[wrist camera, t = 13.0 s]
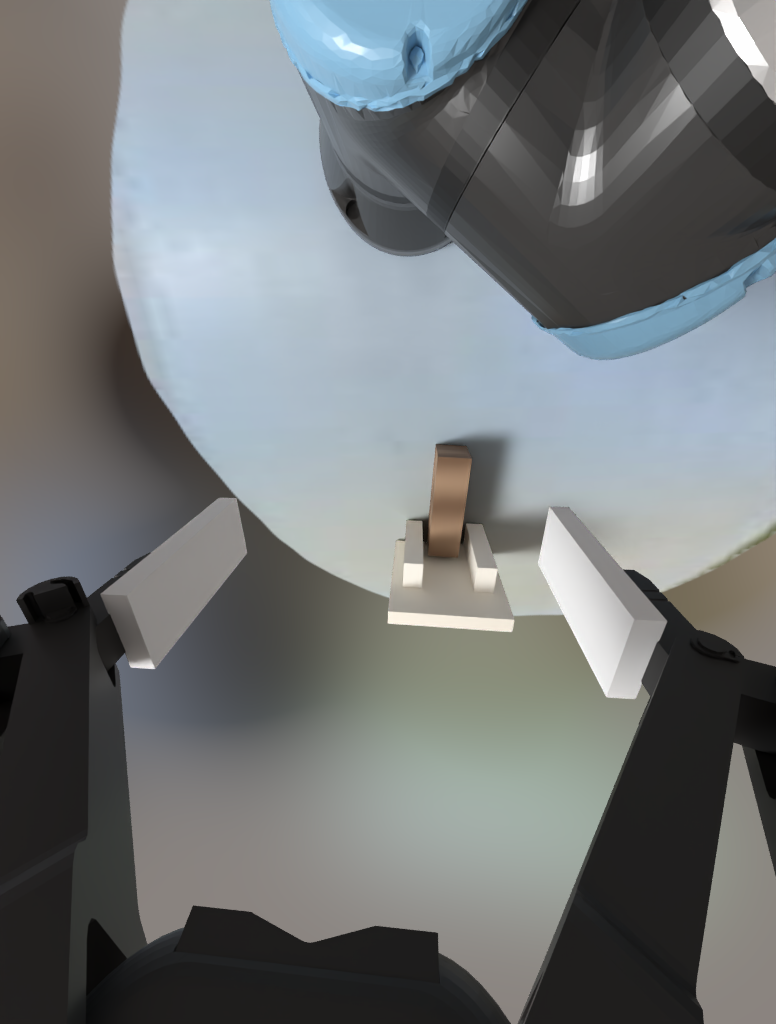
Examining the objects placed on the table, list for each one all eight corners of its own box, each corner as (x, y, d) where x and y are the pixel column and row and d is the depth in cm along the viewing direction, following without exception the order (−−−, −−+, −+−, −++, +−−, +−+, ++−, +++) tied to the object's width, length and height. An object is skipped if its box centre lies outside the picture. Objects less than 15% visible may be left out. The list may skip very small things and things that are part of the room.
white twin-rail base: (396, 519, 47) (388, 585, 34) (492, 524, 47) (520, 594, 34) (395, 550, 49) (387, 623, 36) (487, 555, 48) (512, 632, 36)
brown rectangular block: (454, 537, 48) (458, 557, 43) (427, 535, 48) (428, 555, 44) (466, 446, 43) (472, 458, 38) (435, 444, 43) (438, 456, 38)
